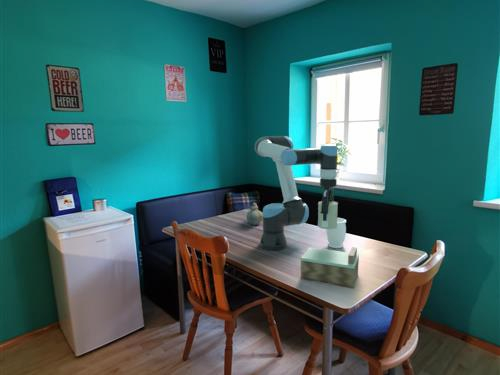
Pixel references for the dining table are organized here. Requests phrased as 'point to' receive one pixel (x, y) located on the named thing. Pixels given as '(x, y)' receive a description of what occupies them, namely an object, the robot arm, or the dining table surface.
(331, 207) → the can
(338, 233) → the jar
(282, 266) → the dining table surface
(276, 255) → the dining table surface
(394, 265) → the dining table surface
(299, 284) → the dining table surface
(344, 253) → the lid
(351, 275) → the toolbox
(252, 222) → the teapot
